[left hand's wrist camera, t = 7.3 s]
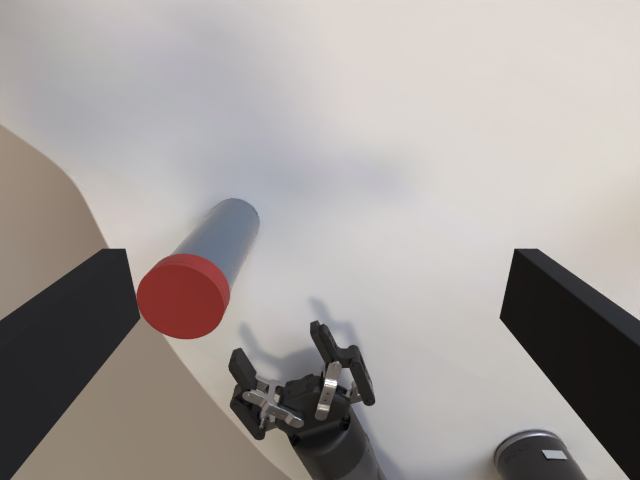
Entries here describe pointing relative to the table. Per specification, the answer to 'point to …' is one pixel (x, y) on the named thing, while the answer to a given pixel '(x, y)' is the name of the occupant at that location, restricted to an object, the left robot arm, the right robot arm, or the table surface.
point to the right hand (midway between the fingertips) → (273, 340)
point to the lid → (184, 296)
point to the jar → (224, 237)
